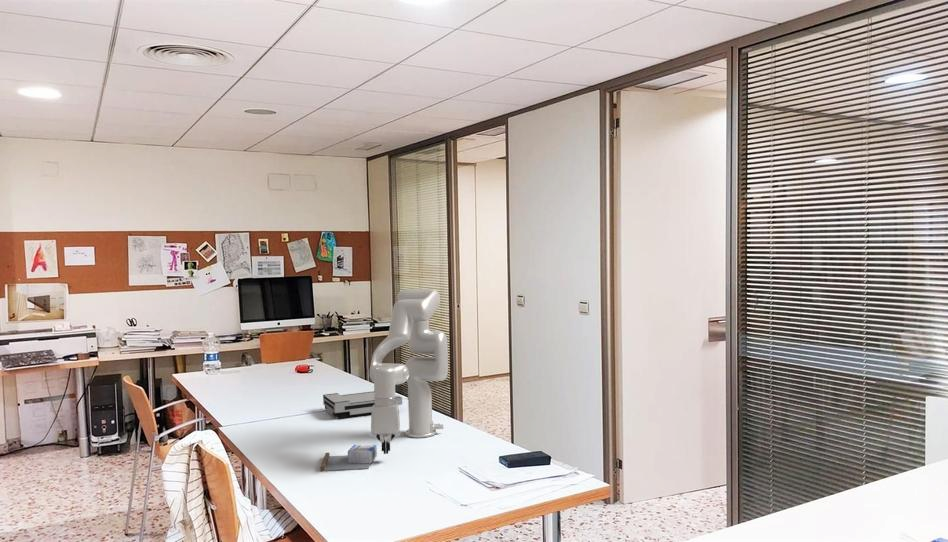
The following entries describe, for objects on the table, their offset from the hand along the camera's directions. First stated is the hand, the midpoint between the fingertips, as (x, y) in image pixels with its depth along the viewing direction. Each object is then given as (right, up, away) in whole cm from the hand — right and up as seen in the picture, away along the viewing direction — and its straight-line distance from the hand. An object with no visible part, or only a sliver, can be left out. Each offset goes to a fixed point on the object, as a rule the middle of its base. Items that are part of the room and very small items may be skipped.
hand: (385, 452), depth 242 cm
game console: (-21, -2, +78) cm, 80 cm away
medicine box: (-4, -1, +1) cm, 4 cm away
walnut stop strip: (-21, -4, -2) cm, 22 cm away
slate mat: (-14, -3, -1) cm, 14 cm away
